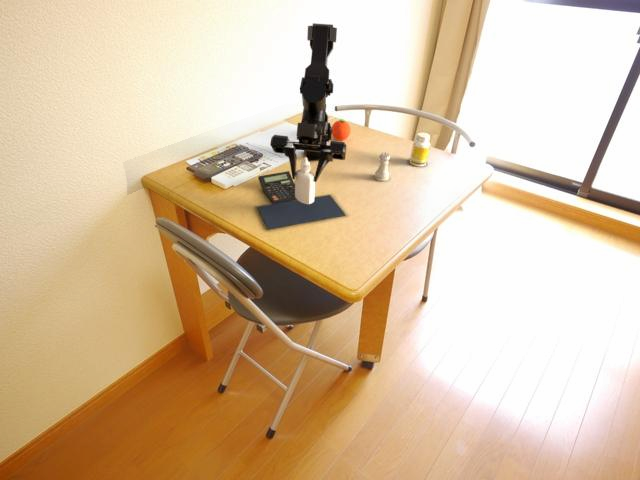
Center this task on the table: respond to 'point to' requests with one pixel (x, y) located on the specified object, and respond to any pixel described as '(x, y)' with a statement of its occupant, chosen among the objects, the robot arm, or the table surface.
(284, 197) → the calculator
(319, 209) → the placemat
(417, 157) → the supplement bottle
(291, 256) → the table surface
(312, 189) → the eye dropper bottle
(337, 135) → the clementine
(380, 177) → the rook chess piece
